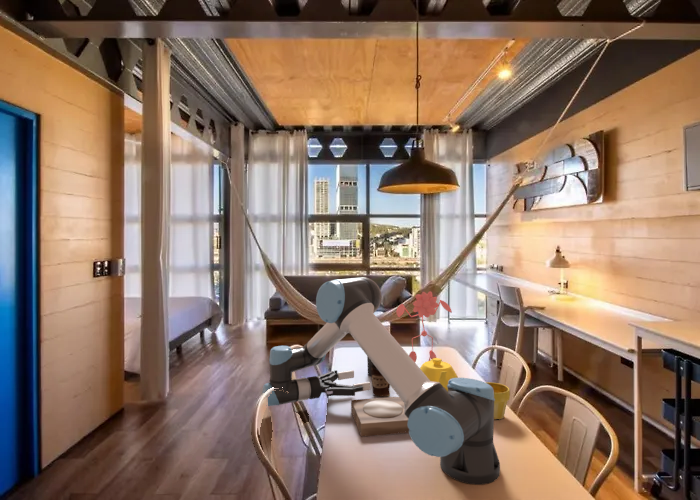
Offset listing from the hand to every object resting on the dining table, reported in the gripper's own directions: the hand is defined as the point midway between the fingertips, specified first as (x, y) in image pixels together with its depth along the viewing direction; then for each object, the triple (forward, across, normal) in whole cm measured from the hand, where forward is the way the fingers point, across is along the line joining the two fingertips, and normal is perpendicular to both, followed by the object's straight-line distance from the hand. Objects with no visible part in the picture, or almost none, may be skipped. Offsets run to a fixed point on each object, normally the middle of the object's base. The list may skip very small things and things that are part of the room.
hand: (361, 379), depth 155 cm
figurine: (+43, -20, -7) cm, 48 cm away
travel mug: (+17, -20, -7) cm, 27 cm away
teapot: (+28, +10, -7) cm, 30 cm away
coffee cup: (+8, 0, -7) cm, 11 cm away
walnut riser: (-2, +20, -7) cm, 21 cm away
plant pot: (+34, +32, -7) cm, 47 cm away
